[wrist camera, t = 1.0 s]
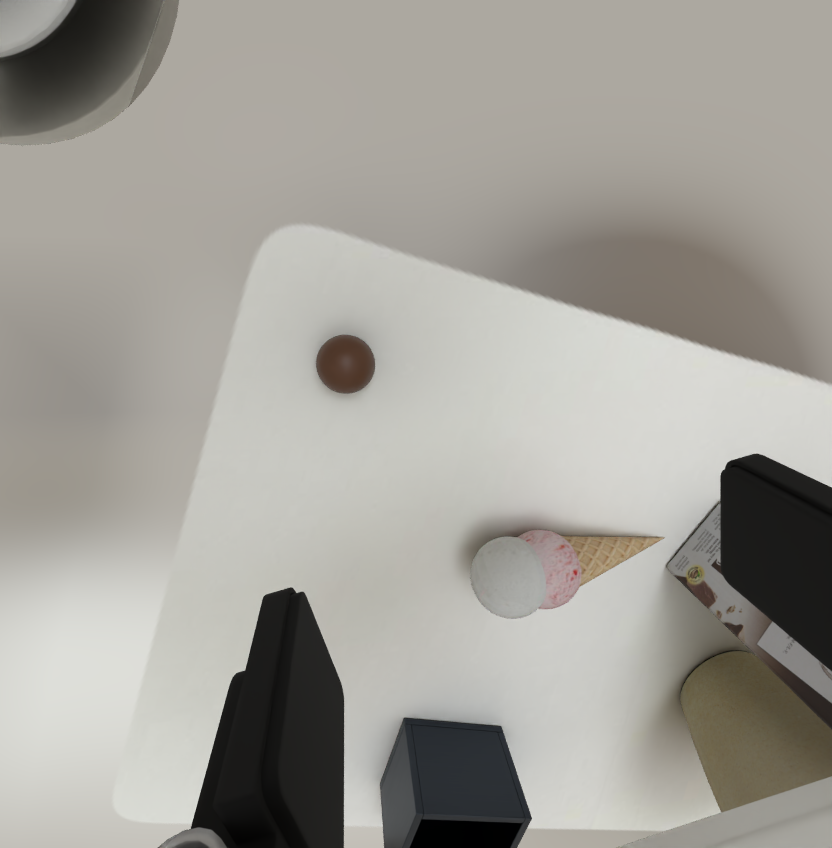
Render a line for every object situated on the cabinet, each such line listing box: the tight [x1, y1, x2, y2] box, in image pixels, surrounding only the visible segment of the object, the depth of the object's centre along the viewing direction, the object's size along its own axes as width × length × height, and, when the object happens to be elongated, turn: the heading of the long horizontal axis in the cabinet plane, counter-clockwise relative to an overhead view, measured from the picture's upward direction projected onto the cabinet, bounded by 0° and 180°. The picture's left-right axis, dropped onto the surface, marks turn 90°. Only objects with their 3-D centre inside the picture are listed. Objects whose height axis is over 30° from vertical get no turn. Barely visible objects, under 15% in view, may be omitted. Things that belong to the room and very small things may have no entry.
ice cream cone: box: [470, 530, 664, 619], centre depth 30 cm, size 5×5×15 cm
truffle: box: [316, 335, 375, 393], centre depth 24 cm, size 3×3×3 cm
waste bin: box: [380, 718, 532, 848], centre depth 34 cm, size 8×7×6 cm
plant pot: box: [680, 651, 832, 812], centre depth 31 cm, size 15×15×16 cm
